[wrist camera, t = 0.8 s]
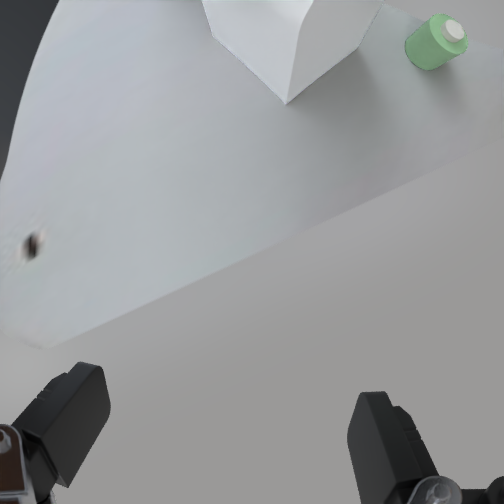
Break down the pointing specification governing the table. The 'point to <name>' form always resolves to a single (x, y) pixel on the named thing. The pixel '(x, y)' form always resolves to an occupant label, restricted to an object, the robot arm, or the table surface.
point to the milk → (290, 36)
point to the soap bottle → (436, 42)
